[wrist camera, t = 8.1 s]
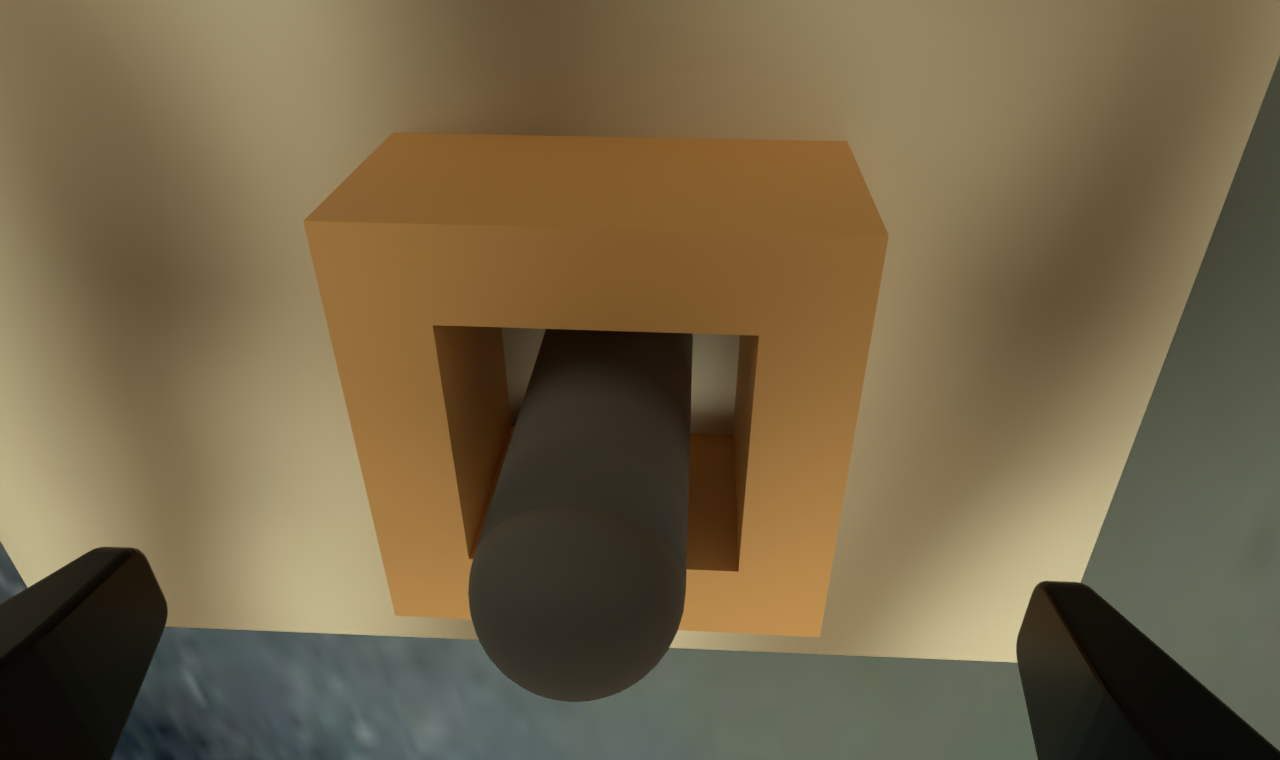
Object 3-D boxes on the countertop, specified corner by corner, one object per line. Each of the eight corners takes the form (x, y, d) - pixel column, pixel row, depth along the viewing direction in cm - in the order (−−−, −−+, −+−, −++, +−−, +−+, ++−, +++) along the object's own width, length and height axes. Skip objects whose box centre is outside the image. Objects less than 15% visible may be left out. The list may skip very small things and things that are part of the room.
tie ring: (448, 479, 15) (395, 615, 12) (391, 132, 11) (303, 221, 9) (799, 494, 14) (819, 638, 12) (847, 141, 11) (889, 235, 8)
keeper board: (91, 567, 19) (-224, 950, 12) (-308, -204, 11) (-1675, -236, 5) (1024, 603, 17) (1206, 1050, 11) (1307, -242, 10) (2420, -357, 3)
